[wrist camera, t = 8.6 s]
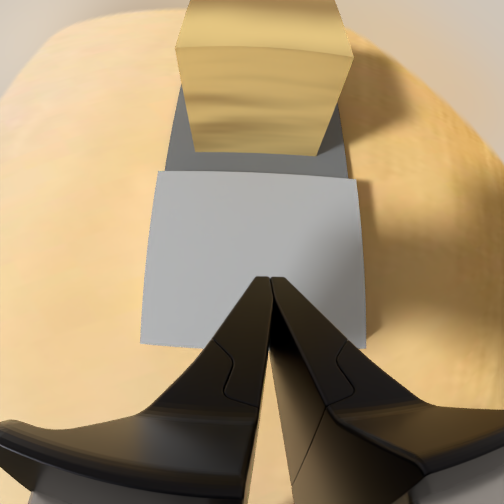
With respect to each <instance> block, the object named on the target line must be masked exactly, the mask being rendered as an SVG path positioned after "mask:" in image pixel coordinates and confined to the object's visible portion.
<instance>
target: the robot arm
mask: <svg viewBox="0 0 504 504" xmlns="http://www.w3.org/2000/svg"><path fill="white" fill-rule="evenodd" d="M268 351H269V354H270V360H271V366H272V373H273V379H274V385H275V391H276V397H277V403H278V409H279V415H280V421H281V427H282V433H283V439H284V445H285V451H286V457H287V463H288V469H289V475H290V481H291V486H292V493H293V499H294V504H504V410H490V409H467V408H452V407H440V406H435V405H431V404H429V403H426V402H425V401H423V400H421V399H419V398H418V397H417V396H415V395H414V394H413V393H411V392H410V391H409V390H407V389H406V388H405V387H404V386H402V385H401V384H400V383H398V382H397V381H396V380H395V379H393V378H392V377H391V376H389V375H388V374H387V373H386V372H384V371H383V370H382V369H381V368H379V367H378V366H377V365H376V364H375V363H373V362H372V361H371V360H370V359H369V358H368V357H366V356H365V355H364V354H363V353H362V352H361V351H360V350H359V349H358V348H357V347H356V346H355V345H354V344H353V343H352V342H351V341H350V340H348V339H347V338H346V337H345V336H344V335H343V334H342V333H341V332H340V331H339V330H338V329H337V328H336V327H335V326H334V325H333V324H332V323H331V322H330V321H329V320H328V319H327V318H326V317H325V316H324V315H323V314H322V313H321V312H320V311H319V310H318V309H317V308H316V307H315V306H314V305H313V304H312V303H311V302H310V301H309V300H308V299H307V298H306V297H305V296H304V295H303V294H302V293H301V292H300V291H299V290H298V289H297V288H295V287H294V286H293V285H292V284H291V283H290V282H289V281H288V280H287V279H286V278H285V277H274V276H273V277H271V278H270V277H268V276H256V277H255V278H254V279H253V280H252V282H251V283H250V285H249V286H248V288H247V289H246V290H245V292H244V293H243V295H242V296H241V297H240V299H239V300H238V302H237V303H236V305H235V306H234V307H233V309H232V310H231V312H230V313H229V314H228V316H227V317H226V319H225V320H224V322H223V323H222V324H221V326H220V327H219V329H218V330H217V331H216V333H215V334H214V336H213V337H212V338H211V340H210V341H209V342H208V344H207V345H206V347H205V348H204V349H203V351H202V352H201V353H200V354H199V356H198V357H197V358H196V359H195V361H194V362H193V363H192V364H191V365H190V366H189V367H188V368H187V369H186V370H185V371H184V372H183V374H182V375H181V376H180V377H179V378H178V379H177V380H176V381H175V382H174V383H173V384H172V385H170V386H169V387H168V388H167V389H166V390H165V391H164V392H163V393H162V394H161V395H160V396H159V397H158V398H157V399H156V400H155V401H154V402H153V403H152V404H151V405H150V406H149V407H147V408H146V409H145V410H143V411H141V412H140V413H138V414H136V415H133V416H130V417H126V418H121V419H117V420H113V421H108V422H103V423H99V424H94V425H89V426H83V427H78V428H72V429H64V430H52V429H44V428H40V427H36V426H33V425H30V424H27V423H24V422H21V421H17V420H6V421H2V422H0V467H1V468H2V469H3V470H4V471H6V472H7V473H8V474H9V475H10V476H12V477H13V478H14V479H15V480H16V481H18V482H19V483H20V484H21V485H23V486H24V487H25V488H27V489H28V490H29V491H31V495H30V498H29V502H28V504H247V503H248V497H249V491H250V484H251V477H252V471H253V464H254V457H255V450H256V443H257V436H258V429H259V421H260V414H261V407H262V399H263V391H264V384H265V376H266V368H267V360H268Z"/></svg>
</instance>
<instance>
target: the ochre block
mask: <svg viewBox="0 0 504 504" xmlns="http://www.w3.org/2000/svg"><path fill="white" fill-rule="evenodd" d="M175 50H176V56H177V61H178V67H179V72H180V78H181V83H182V88H183V93H184V98H185V104H186V109H187V114H188V119H189V124H190V129H191V134H192V139H193V143H194V148H195V152H237V153H267V154H287V155H303V156H316V155H317V152H318V150H319V147H320V145H321V142H322V140H323V137H324V135H325V132H326V130H327V127H328V124H329V122H330V119H331V117H332V114H333V112H334V109H335V106H336V104H337V101H338V99H339V96H340V93H341V91H342V88H343V86H344V83H345V80H346V78H347V75H348V72H349V70H350V67H351V64H352V62H353V59H354V55H353V52H352V49H351V46H350V43H349V40H348V36H347V33H346V30H345V28H344V25H343V22H342V19H341V16H340V13H339V11H338V8H337V5H336V3H335V0H190V3H189V5H188V8H187V11H186V14H185V17H184V20H183V24H182V27H181V30H180V33H179V36H178V40H177V43H176V46H175Z"/></svg>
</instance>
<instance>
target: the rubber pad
mask: <svg viewBox="0 0 504 504" xmlns="http://www.w3.org/2000/svg"><path fill="white" fill-rule="evenodd" d="M165 171H222V172H254V173H276V174H293V175H309V176H322V177H334V178H346V179H348V172H347V164H346V156H345V149H344V142H343V135H342V128H341V122H340V115H339V109H338V104H336V106H335V109H334V112H333V114H332V117H331V119H330V122H329V124H328V127H327V130H326V132H325V135H324V137H323V140H322V142H321V145H320V147H319V150H318V152H317V155H316V156H303V155H287V154H267V153H237V152H195V148H194V143H193V139H192V134H191V129H190V124H189V119H188V114H187V109H186V104H185V98H184V93H183V88H182V83H181V88H180V92H179V97H178V102H177V107H176V111H175V116H174V121H173V127H172V132H171V137H170V143H169V148H168V154H167V160H166V166H165Z"/></svg>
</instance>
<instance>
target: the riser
mask: <svg viewBox="0 0 504 504" xmlns="http://www.w3.org/2000/svg"><path fill="white" fill-rule="evenodd" d="M256 276H268V277H270V278H271V277H273V276H274V277H285V278H286V279H287V280H288V281H289V282H290V283H291V284H292V285H293V286H294V287H295V288H297V289H298V290H299V291H300V292H301V293H302V294H303V295H304V296H305V297H306V298H307V299H308V300H309V301H310V302H311V303H312V304H313V305H314V306H315V307H316V308H317V309H318V310H319V311H320V312H321V313H322V314H323V315H324V316H325V317H326V318H327V319H328V320H329V321H330V322H331V323H332V324H333V325H334V326H335V327H336V328H337V329H338V330H339V331H340V332H341V333H342V334H343V335H344V336H345V337H346V338H347V339H348V340H350V341H351V342H352V343H353V344H354V345H355V346H356V347H357V348H358V349H364V348H366V301H365V276H364V259H363V244H362V232H361V220H360V210H359V200H358V191H357V183H356V179H346V178H334V177H322V176H309V175H293V174H276V173H254V172H222V171H158V176H157V182H156V188H155V195H154V201H153V208H152V216H151V223H150V231H149V239H148V248H147V258H146V267H145V278H144V290H143V303H142V318H141V338H140V344H149V345H161V346H173V347H187V348H205V347H206V345H207V344H208V342H209V341H210V340H211V338H212V337H213V336H214V334H215V333H216V331H217V330H218V329H219V327H220V326H221V324H222V323H223V322H224V320H225V319H226V317H227V316H228V314H229V313H230V312H231V310H232V309H233V307H234V306H235V305H236V303H237V302H238V300H239V299H240V297H241V296H242V295H243V293H244V292H245V290H246V289H247V288H248V286H249V285H250V283H251V282H252V280H253V279H254V278H255V277H256Z"/></svg>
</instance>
